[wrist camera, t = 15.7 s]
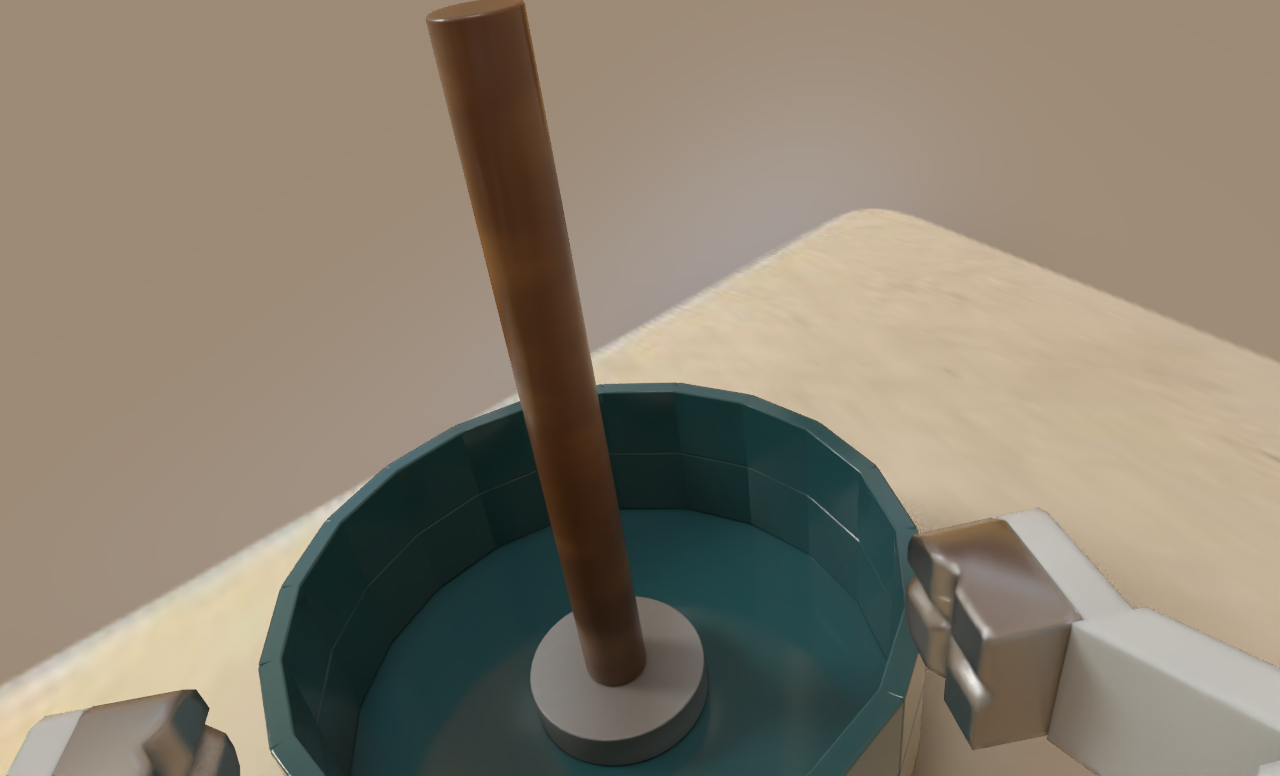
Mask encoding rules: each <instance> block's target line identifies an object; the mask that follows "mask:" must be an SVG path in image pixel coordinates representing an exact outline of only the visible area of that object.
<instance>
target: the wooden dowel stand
mask: <svg viewBox="0 0 1280 776" xmlns="http://www.w3.org/2000/svg"><path fill="white" fill-rule="evenodd" d="M426 22H427V27H428V31H429V35H430V39H431V43H432V47H433V50H434V55H435V59H436V63H437V67H438V71H439V75H440V79H441V83H442V87H443V91H444V95H445V99H446V103H447V107H448V111H449V115H450V119H451V123H452V127H453V131H454V135H455V140H456V144H457V148H458V152H459V156H460V160H461V164H462V168H463V172H464V176H465V180H466V184H467V188H468V192H469V196H470V200H471V204H472V208H473V212H474V216H475V220H476V224H477V228H478V232H479V236H480V240H481V244H482V248H483V252H484V256H485V261H486V265H487V268H488V272H489V277H490V281H491V285H492V289H493V293H494V296H495V301H496V305H497V309H498V313H499V317H500V321H501V325H502V329H503V333H504V337H505V341H506V345H507V349H508V353H509V357H510V361H511V365H512V369H513V373H514V377H515V381H516V386H517V390H518V394H519V398H520V402H521V406H522V410H523V414H524V418H525V422H526V426H527V430H528V434H529V438H530V442H531V446H532V450H533V454H534V458H535V462H536V466H537V470H538V474H539V478H540V482H541V486H542V490H543V494H544V498H545V503H546V507H547V511H548V515H549V519H550V523H551V527H552V531H553V535H554V539H555V543H556V547H557V551H558V555H559V559H560V563H561V567H562V571H563V575H564V579H565V583H566V587H567V591H568V595H569V599H570V603H571V607H572V612H571V613H569V614H568V615H566V616H565V617H564V618H562V619H561V620H560V621H558V622H557V623H556V624H555V625H554V626H553V627H552V628H551V629H550V630H549V632H548V633H547V634H546V635H545V637H544V638H543V640H542V641H541V643H540V644H539V646H538V648H537V650H536V652H535V655H534V658H533V661H532V666H531V671H530V684H531V691H532V694H533V698H534V701H535V704H536V707H537V710H538V714H539V717H540V720H541V723H542V725H543V727H544V729H545V731H546V733H547V734H548V735H549V737H550V738H551V740H552V741H553V742H554V743H555V744H556V745H557V746H558V747H560V748H561V749H562V750H564V751H565V752H566V753H568V754H570V755H572V756H574V757H575V758H577V759H580V760H583V761H586V762H589V763H593V764H598V765H608V766H617V765H628V764H634V763H638V762H641V761H645V760H648V759H650V758H653V757H655V756H657V755H659V754H661V753H663V752H665V751H666V750H668V749H670V748H671V747H672V746H674V745H675V744H676V743H678V742H679V741H680V740H681V739H682V738H683V737H684V736H685V735H686V734H687V733H688V732H689V731H690V729H691V728H692V727H693V726H694V724H695V722H696V721H697V719H698V718H699V716H700V714H701V711H702V709H703V707H704V703H705V700H706V696H707V688H708V683H707V671H706V663H705V656H704V650H703V645H702V642H701V639H700V636H699V635H698V633H697V631H696V629H695V628H694V626H693V625H692V624H691V622H690V621H689V620H688V619H687V618H686V617H685V616H684V615H683V614H682V613H680V612H679V611H677V610H676V609H675V608H673V607H671V606H669V605H667V604H665V603H663V602H660V601H657V600H654V599H650V598H645V597H639V596H635V592H634V586H633V581H632V575H631V570H630V565H629V559H628V554H627V549H626V543H625V538H624V533H623V527H622V522H621V517H620V511H619V506H618V500H617V495H616V490H615V484H614V479H613V474H612V468H611V463H610V458H609V452H608V447H607V442H606V436H605V431H604V426H603V420H602V415H601V409H600V404H599V399H598V393H597V388H596V383H595V377H594V372H593V367H592V361H591V356H590V351H589V346H588V340H587V335H586V329H585V324H584V318H583V313H582V308H581V302H580V297H579V292H578V287H577V281H576V276H575V270H574V265H573V260H572V254H571V249H570V243H569V238H568V233H567V227H566V223H565V217H564V211H563V206H562V201H561V195H560V190H559V185H558V179H557V174H556V169H555V164H554V158H553V152H552V147H551V142H550V136H549V132H548V126H547V120H546V115H545V110H544V105H543V99H542V94H541V88H540V83H539V78H538V73H537V67H536V61H535V56H534V51H533V45H532V40H531V35H530V29H529V24H528V19H527V13H526V9H525V3H524V2H523V0H478V1H471V2H466V3H461V4H457V5H452V6H448V7H445V8H442V9H439V10H436V11H434V12H432V13H430V14H429V15H427V17H426Z"/></svg>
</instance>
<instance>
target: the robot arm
mask: <svg viewBox="0 0 1280 776" xmlns="http://www.w3.org/2000/svg"><path fill="white" fill-rule="evenodd" d="M907 561H908V563H909V565H910V566H911V568H912V570H913V571H914V573H915V576H914V577H913V579H912V580H911V581H910V582H909V584H908V585H907V586H906V587H905V611H906V616H907V621H908V626H909V631H910V633H911V636H912V638H913V641H914V644H915V646H916V649H917V651H918V652H919V654H920V656H921V658H922V660H923V662H924V664H925V666H926V667H927V668H929V669H931V670H932V671H934V672H936V673H937V674H939V675H941V676H942V677H944V678H946V683H945V693H944V700H945V702H946V704H947V706H948V707H949V709H950V711H951V713H952V715H953V716H954V718H955V720H956V722H957V723H958V725H959V727H960V729H961V731H962V732H963V734H964V736H965V738H966V740H967V741H968V743H969V745H970V747H971V748H972V750H975V749H980V748H986V747H991V746H996V745H1001V744H1006V743H1011V742H1016V741H1021V740H1026V739H1031V738H1036V737H1041V736H1046V735H1048V737H1047V740H1049V741H1050V742H1051V743H1053V744H1054V745H1055V746H1057V747H1058V748H1060V749H1061V750H1062V751H1064V752H1065V753H1066V754H1068V755H1069V756H1071V757H1072V758H1073V759H1075V760H1076V761H1077V762H1079V763H1080V764H1082V765H1083V766H1084V767H1086V768H1087V769H1088V770H1090V771H1091V772H1093V773H1094V774H1095V775H1097V776H1280V668H1279V667H1277V666H1274V665H1272V664H1270V663H1268V662H1266V661H1263V660H1261V659H1259V658H1257V657H1255V656H1253V655H1250V654H1248V653H1246V652H1244V651H1242V650H1240V649H1237V648H1235V647H1233V646H1231V645H1229V644H1226V643H1224V642H1222V641H1220V640H1218V639H1216V638H1213V637H1211V636H1209V635H1207V634H1205V633H1202V632H1200V631H1198V630H1196V629H1194V628H1192V627H1189V626H1187V625H1185V624H1183V623H1181V622H1179V621H1176V620H1174V619H1172V618H1170V617H1168V616H1165V615H1163V614H1161V613H1159V612H1157V611H1155V610H1152V609H1150V608H1148V607H1144V608H1139V609H1133V608H1132V607H1131V606H1130V605H1129V603H1128V602H1127V601H1126V600H1125V599H1124V598H1123V597H1122V596H1121V594H1120V593H1119V592H1118V591H1117V590H1116V589H1115V588H1114V587H1113V585H1112V584H1111V583H1110V582H1109V581H1108V580H1107V579H1106V578H1105V576H1104V575H1103V574H1102V573H1101V572H1100V571H1099V570H1098V568H1097V567H1096V566H1095V565H1094V564H1093V563H1092V562H1091V561H1090V559H1089V558H1088V557H1087V556H1086V555H1085V554H1084V553H1083V552H1082V550H1081V549H1080V548H1079V547H1078V546H1077V545H1076V544H1075V542H1074V541H1073V540H1072V539H1071V538H1070V537H1069V536H1068V535H1067V533H1066V532H1065V531H1064V530H1063V529H1062V528H1061V527H1060V526H1059V524H1058V523H1057V522H1056V521H1055V520H1054V519H1053V518H1052V516H1051V515H1050V514H1049V513H1048V512H1046V511H1044V510H1042V509H1040V508H1034V509H1030V510H1025V511H1021V512H1016V513H1012V514H1007V515H1002V516H998V517H996V518H988V519H983V520H979V521H974V522H970V523H965V524H961V525H956V526H952V527H947V528H943V529H938V530H934V531H929V532H925V533H920V534H916V535H912V537H911V539H910V541H909V543H908V551H907ZM209 709H210V708H209V707H208V705H207V704H206V703H205V701H204V700H203V699H202V697H201V696H200V695H199V693H198V692H197V690H180V691H174V692H169V693H163V694H158V695H153V696H147V697H142V698H137V699H131V700H126V701H120V702H115V703H110V704H104V705H99V706H93V707H92V708H87V709H81V710H76V711H71V712H65V713H60V714H55V715H49V716H45V717H44V718H43V719H42V720H40V721H39V722H38V723H37V724H36V725H35V726H33V727H32V728H31V729H30V731H29V733H28V734H27V736H26V738H25V740H24V742H23V744H22V746H21V748H20V750H19V751H18V753H17V755H16V757H15V759H14V761H13V763H12V765H11V767H10V768H9V770H8V772H7V774H6V776H240V765H239V761H238V758H237V755H236V751H235V748H234V746H233V744H232V743H231V741H230V739H229V738H228V736H227V735H226V733H224V732H221V731H219V730H217V729H214V728H212V727H210V726H208V725H205V721H206V718H207V715H208V712H209Z"/></svg>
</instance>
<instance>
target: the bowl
mask: <svg viewBox="0 0 1280 776" xmlns="http://www.w3.org/2000/svg"><path fill="white" fill-rule="evenodd" d="M596 388H597V393H598V399H599V404H600V409H601V415H602V420H603V426H604V431H605V436H606V442H607V447H608V452H609V458H610V463H611V468H612V474H613V479H614V484H615V490H616V495H617V500H618V506H619V511H620V517H621V522H622V527H623V533H624V538H625V543H626V549H627V554H628V559H629V565H630V570H631V575H632V581H633V586H634V592H635V596H639V597H645V598H650V599H654V600H657V601H660V602H663V603H665V604H667V605H669V606H671V607H673V608H675V609H676V610H677V611H679V612H680V613H682V614H683V615H684V616H685V617H686V618H687V619H688V620H689V621H690V622H691V624H692V625H693V626H694V628H695V629H696V631H697V633H698V635H699V636H700V639H701V642H702V645H703V650H704V656H705V663H706V671H707V683H708V688H707V696H706V700H705V703H704V707H703V709H702V711H701V714H700V716H699V718H698V719H697V721H696V722H695V724H694V726H693V727H692V728H691V729H690V731H689V732H688V733H687V734H686V735H685V736H684V737H683V738H682V739H681V740H680V741H679V742H678V743H676V744H675V745H674V746H672V747H671V748H670V749H668V750H666V751H665V752H663V753H661V754H659V755H657V756H655V757H653V758H650V759H648V760H645V761H641V762H638V763H634V764H628V765H617V766H608V765H598V764H593V763H589V762H586V761H583V760H580V759H577V758H575V757H574V756H572V755H570V754H568V753H566V752H565V751H564V750H562V749H561V748H560V747H558V746H557V745H556V744H555V743H554V742H553V741H552V740H551V738H550V737H549V735H548V734H547V733H546V731H545V729H544V727H543V725H542V723H541V720H540V717H539V714H538V710H537V707H536V704H535V701H534V698H533V694H532V691H531V684H530V671H531V666H532V661H533V658H534V655H535V652H536V650H537V648H538V646H539V644H540V643H541V641H542V640H543V638H544V637H545V635H546V634H547V633H548V632H549V630H550V629H551V628H552V627H553V626H554V625H555V624H556V623H557V622H558V621H560V620H561V619H562V618H564V617H565V616H566V615H568V614H569V613H571V612H572V607H571V603H570V599H569V595H568V591H567V587H566V583H565V579H564V575H563V571H562V567H561V563H560V559H559V555H558V551H557V547H556V543H555V539H554V535H553V531H552V527H551V523H550V519H549V515H548V511H547V507H546V503H545V498H544V494H543V490H542V486H541V482H540V478H539V474H538V470H537V466H536V462H535V458H534V454H533V450H532V446H531V442H530V438H529V434H528V430H527V426H526V422H525V418H524V414H523V410H522V406H521V402H520V401H519V402H517V403H514V404H511V405H509V406H506V407H503V408H501V409H498V410H495V411H493V412H490V413H487V414H485V415H482V416H479V417H477V418H474V419H471V420H469V421H466V422H463V423H461V424H458V425H455V427H452V428H450V429H448V430H447V431H445V432H443V433H441V434H440V435H438V436H436V437H435V438H433V439H431V440H430V441H428V442H426V443H425V444H423V445H421V446H419V447H418V448H416V449H414V450H413V451H411V452H409V453H408V454H406V455H404V456H403V457H401V458H399V459H397V460H396V461H394V462H392V463H391V464H389V465H387V466H386V467H385V468H383V469H382V470H381V471H380V472H379V473H378V474H377V475H376V476H374V477H373V478H372V479H371V480H370V481H369V482H368V483H367V484H366V485H364V486H363V487H362V488H361V489H360V490H359V491H358V492H357V493H356V494H354V495H353V496H352V497H351V498H350V499H349V500H348V501H347V502H346V503H344V504H343V505H342V506H341V507H340V508H339V509H338V510H337V511H336V512H334V513H333V514H332V515H331V516H330V517H329V518H328V519H327V521H325V522H324V524H323V525H322V527H321V528H320V530H319V531H318V533H317V534H316V535H315V537H314V538H313V540H312V541H311V543H310V544H309V546H308V547H307V549H306V550H305V552H304V553H303V555H302V556H301V558H300V559H299V561H298V562H297V564H296V565H295V567H294V568H293V570H292V571H291V573H290V574H289V576H288V577H287V579H286V580H285V582H284V583H283V584H282V586H281V589H280V591H279V594H278V598H277V601H276V605H275V609H274V612H273V616H272V619H271V623H270V626H269V630H268V633H267V637H266V640H265V644H264V648H263V651H262V655H261V658H260V662H259V669H258V670H259V678H260V685H261V692H262V699H263V706H264V713H265V720H266V728H267V735H268V742H269V749H270V751H271V754H272V756H273V758H274V759H275V761H276V763H277V764H278V766H279V768H280V769H281V771H282V772H283V774H284V776H912V773H913V768H914V764H915V760H916V756H917V752H918V748H919V741H920V729H921V718H922V706H923V694H924V681H925V670H926V666H925V664H924V662H923V660H922V658H921V656H920V654H919V652H918V651H917V649H916V646H915V644H914V641H913V638H912V636H911V633H910V631H909V626H908V621H907V616H906V611H905V587H906V586H907V585H908V584H909V582H910V581H911V580H912V579H913V577H914V576H915V573H914V571H913V570H912V568H911V566H910V565H909V563H908V561H907V551H908V543H909V541H910V539H911V537H912V535H916V534H919V532H918V530H917V527H916V526H915V524H914V523H913V521H912V519H911V518H910V516H909V515H908V513H907V512H906V510H905V509H904V507H903V506H902V504H901V503H900V501H899V499H898V498H897V496H896V495H895V493H894V492H893V490H892V489H891V487H890V486H889V484H888V482H887V481H886V479H885V478H884V476H883V475H882V473H881V472H880V470H879V469H878V467H877V466H876V465H875V464H874V463H872V462H871V461H870V460H869V459H867V458H866V457H865V456H863V455H862V454H861V453H859V452H858V451H857V450H855V449H854V448H853V447H852V446H850V445H849V444H848V443H846V442H845V441H844V440H842V439H841V438H840V437H838V436H837V435H836V434H835V433H833V432H832V431H831V430H829V429H828V428H827V427H825V426H824V425H823V424H821V423H819V422H818V421H816V420H813V419H811V418H808V417H806V416H803V415H801V414H798V413H796V412H793V411H791V410H788V409H786V408H783V407H781V406H778V405H776V404H773V403H771V402H769V401H766V400H764V399H761V398H759V397H756V396H754V395H750V394H744V393H738V392H732V391H726V390H720V389H714V388H708V387H702V386H696V385H690V384H684V383H636V384H604V385H602V384H600V385H596Z"/></svg>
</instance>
